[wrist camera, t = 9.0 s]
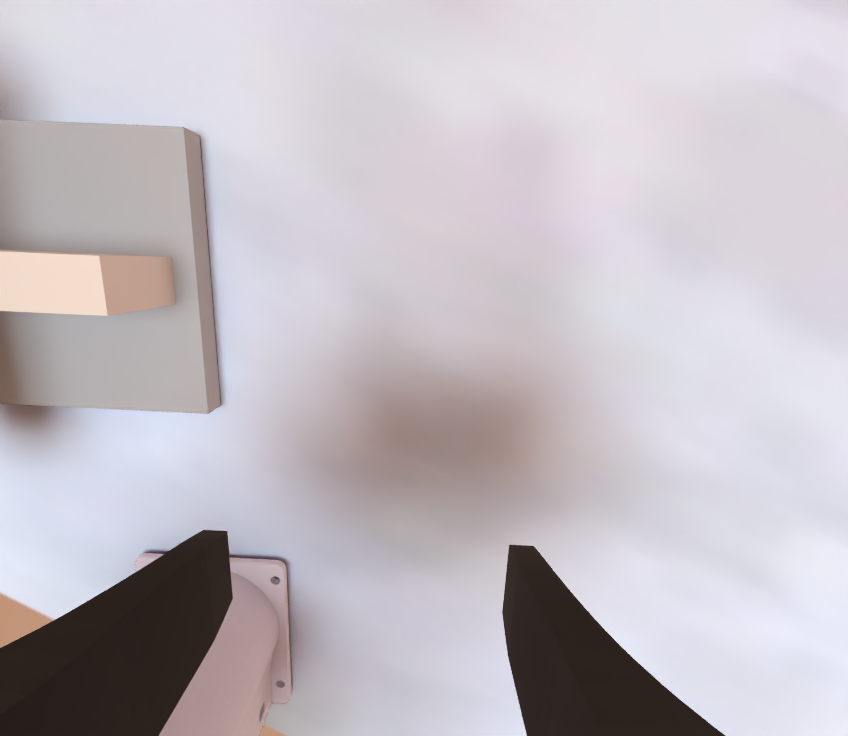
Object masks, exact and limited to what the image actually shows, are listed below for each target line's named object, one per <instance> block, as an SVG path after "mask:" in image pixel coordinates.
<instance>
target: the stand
mask: <svg viewBox="0 0 848 736" xmlns="http://www.w3.org/2000/svg"><path fill="white" fill-rule="evenodd" d="M0 404H19V405H39V406H60V407H80V408H100V409H121V410H141V411H162V412H182V413H203V414H208V413H210V412H211V411H213V410H214V409H216V408H217V407H219V406H220V405H221V403H220V390H219V378H218V365H217V352H216V339H215V326H214V313H213V301H212V288H211V275H210V262H209V249H208V236H207V224H206V211H205V198H204V185H203V172H202V160H201V147H200V136H199V135H197V134H195V133H194V132H192V131H190V130H188V129H186V128H184V127H170V126H146V125H122V124H98V123H74V122H50V121H26V120H2V119H0Z"/></svg>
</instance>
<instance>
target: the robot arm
mask: <svg viewBox="0 0 848 736" xmlns="http://www.w3.org/2000/svg"><path fill="white" fill-rule="evenodd" d="M135 570H136V572H135V573H134V574H132V575H131V576H129V577H127V578H126V579H124V580H123V581H121V582H119V583H118V584H116V585H114V586H113V587H111V588H109V589H108V590H106V591H104V592H102V593H101V594H99V595H97V596H96V597H94V598H92V599H91V600H89V601H87V602H86V603H84V604H82V605H80V606H79V607H77V608H75V609H74V610H72V611H70V612H68V613H67V614H65V615H63V616H61V617H59V618H58V619H56V620H54V621H52V622H50V623H49V624H47V625H45V626H43V627H41V628H39V629H37V630H35V631H34V632H31V633H29V634H27V635H25V636H23V637H21V638H20V639H18V640H16V641H14V642H12V643H10V644H8V645H6V646H4V647H2V648H0V736H259V735H260V733H261V730H262V727H263V724H264V722H265V719H266V716H267V714H268V711H269V708H270V705H271V703H276V704H284V703H287V702H288V701H289V700H290V696H291V693H292V690H291V666H290V643H289V619H288V595H287V572H286V565H285V564H284V563H283V562H282V561H279V560H268V559H249V558H230V557H229V547H228V536H227V531H212V530H203V531H201V532H199V533H198V534H196V535H194V536H192V537H191V538H189V539H187V540H186V541H184V542H183V543H181V544H179V545H178V546H176V547H175V548H173V549H172V550H170V551H168V552H167V553H165V554H154V553H143V554H141V555H140V556H139V557H138V558H137V559H136V561H135ZM274 576H276V577H278V578H279V579H275V578H274ZM503 620H504V628H505V636H506V644H507V651H508V657H509V662H510V666H511V670H512V674H513V679H514V683H515V687H516V691H517V696H518V700H519V704H520V708H521V712H522V717H523V721H524V725H525V729H526V733H527V736H725V735H724V734H722V733H721V732H720V731H718V730H717V729H716V728H714V727H713V726H712V725H711V724H709V723H708V722H707V721H706V720H704V719H703V718H702V717H701V716H699V715H698V714H697V713H696V712H694V711H693V710H692V709H691V708H689V707H688V706H687V705H686V704H684V703H683V702H682V701H681V700H679V699H678V698H677V697H676V696H675V695H674V694H672V693H671V692H670V691H669V690H668V689H666V688H665V687H664V686H663V685H662V684H661V683H660V682H659V681H657V680H656V679H655V678H654V677H653V676H652V675H651V674H650V673H649V672H647V671H646V670H645V669H644V668H643V667H642V666H641V665H640V664H639V663H638V662H636V661H635V660H634V659H633V658H632V657H631V656H630V655H629V654H628V653H627V652H626V651H625V650H624V649H623V648H622V647H621V646H620V645H619V644H618V643H617V642H616V641H615V640H614V639H613V638H612V637H611V636H610V635H609V634H608V633H607V632H606V631H605V630H604V629H603V628H602V627H601V626H600V624H599V623H598V622H597V621H596V620H595V619H594V618H593V617H592V616H591V615H590V613H589V612H588V611H587V610H586V609H585V608H584V607H583V605H582V604H581V603H580V602H579V601H578V600H577V599H576V597H575V596H574V595H573V594H572V593H571V592H570V590H569V589H568V588H567V587H566V586H565V584H564V583H563V582H562V581H561V579H560V578H559V577H558V576H557V575H556V573H555V572H554V571H553V570H552V568H551V567H550V566H549V564H548V563H547V562H546V561H545V559H544V558H543V557H542V556H541V554H540V553H539V552H538V551H537V550H536V548H535V547H534V546H521V545H509V553H508V563H507V573H506V583H505V593H504V602H503Z"/></svg>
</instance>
